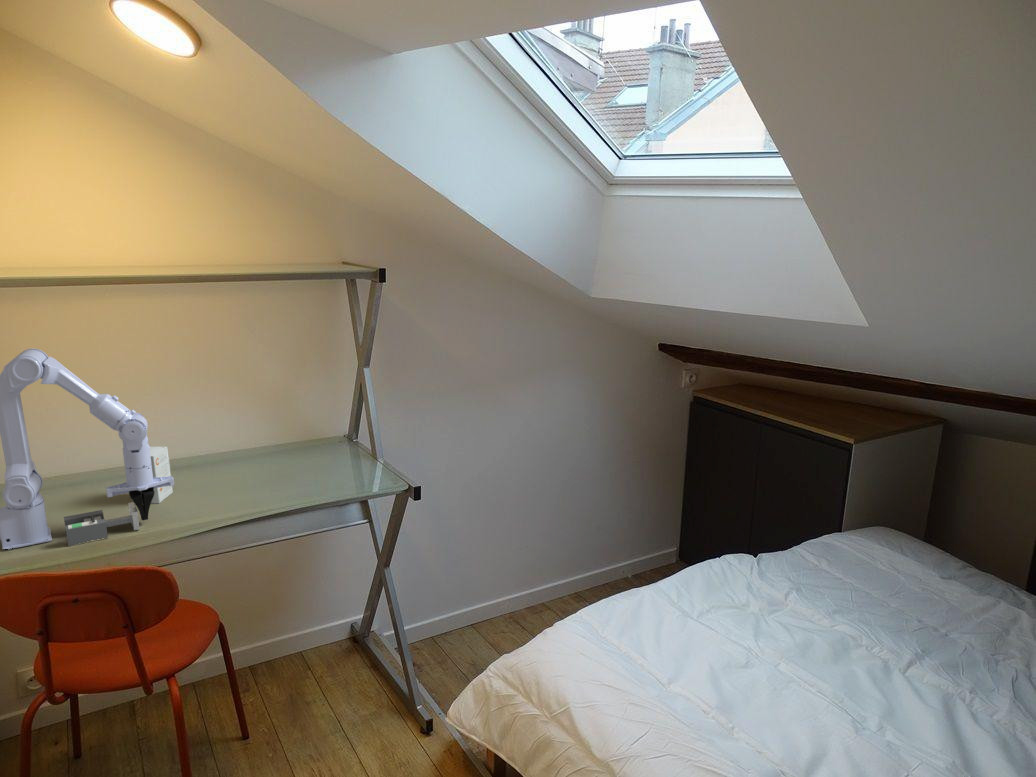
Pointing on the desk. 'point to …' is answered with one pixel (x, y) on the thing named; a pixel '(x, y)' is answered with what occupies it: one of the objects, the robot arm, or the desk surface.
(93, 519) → the plunger
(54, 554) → the desk surface
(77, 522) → the gauge housing
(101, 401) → the robot arm
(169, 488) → the small box
